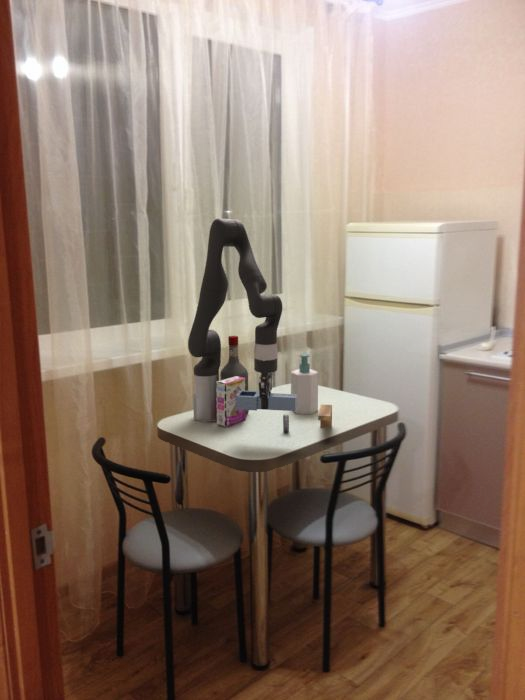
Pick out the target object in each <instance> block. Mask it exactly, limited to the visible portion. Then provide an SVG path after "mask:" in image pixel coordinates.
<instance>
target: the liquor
mask: <svg viewBox="0 0 525 700" xmlns="http://www.w3.org/2000/svg"><path fill="white" fill-rule="evenodd" d="M235 376H238V377H243V378H246V383H245V384H246V385H245V386H246V391H249V372H248V369H247V368H245V366H244V365H243V364H242V363H241V362H240V359H239V336H238V335H229V336H228V362H226V364H225V365H224V366H223V367H222V369H220V371H219V381H220V380H224V379H228V378H231V377H235ZM249 411H250V410H246V415H248V413H249Z"/></svg>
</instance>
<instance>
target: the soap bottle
mask: <svg viewBox="0 0 525 700" xmlns="http://www.w3.org/2000/svg"><path fill="white" fill-rule="evenodd" d="M299 357H300V358H301V362H300V363H299V364H298V365H299V368H297V369H295V370H291V372H290V394H297V408H296V411H293V412H294V413H296V414H298V415H299V414H301V415H305V414H306V415H311V414H313V413H316V412H317V411H318V410H319V371H316V370H314V369H312V368H310V367H311V366H310V363H309V362H308V360H309V359H308V358H309V357H310V354H308V353H302V354H300V355H299ZM315 411H316V412H315Z"/></svg>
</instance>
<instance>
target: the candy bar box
mask: <svg viewBox="0 0 525 700" xmlns="http://www.w3.org/2000/svg"><path fill="white" fill-rule="evenodd" d="M245 383H246V378H243V377H238V376H235V377H231V378H228V379H224V380H220V379H219V381H217V382H216V402H217V403H216V404H217V405H216V408H217V420H216V425H217V426H219V427H222V428H228V427H230V426H233V425H236V424H239V423H241V422H244V421H246V420H247V418H246V415H247V414H246V410H237V409H235V396H236V395H237V393H238V392H239V390H244V391H246V386H245V385H246V384H245Z"/></svg>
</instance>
